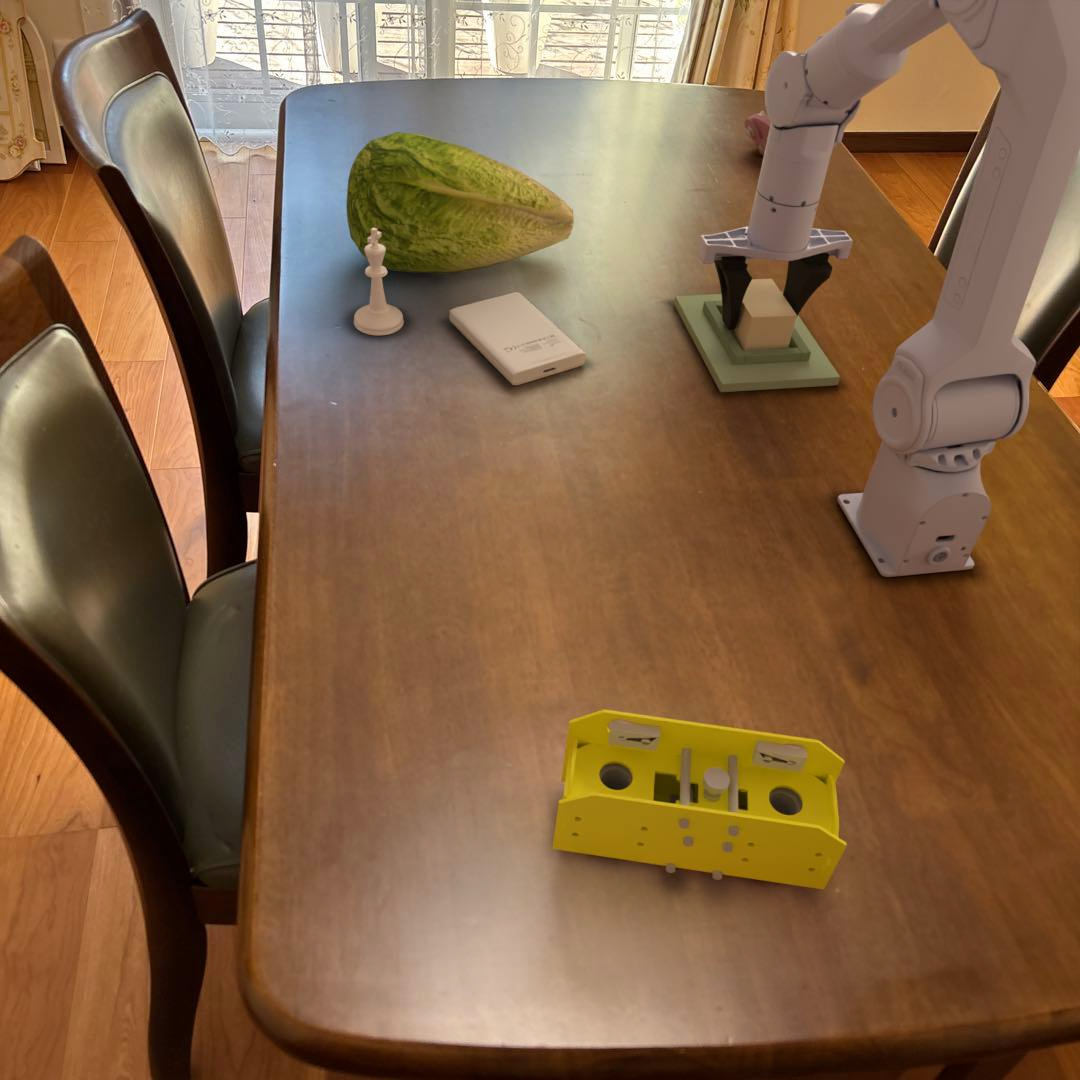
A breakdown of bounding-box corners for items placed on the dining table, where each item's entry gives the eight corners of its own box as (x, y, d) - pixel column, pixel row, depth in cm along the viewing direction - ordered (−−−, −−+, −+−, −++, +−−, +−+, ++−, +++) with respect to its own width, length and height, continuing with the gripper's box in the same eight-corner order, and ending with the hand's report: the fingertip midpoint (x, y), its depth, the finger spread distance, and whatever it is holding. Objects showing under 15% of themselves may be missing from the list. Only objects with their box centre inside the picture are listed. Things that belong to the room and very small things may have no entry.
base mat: (837, 385, 99) (843, 368, 98) (720, 392, 97) (724, 375, 95) (780, 299, 110) (784, 282, 109) (673, 304, 108) (676, 287, 107)
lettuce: (576, 306, 108) (602, 173, 102) (343, 280, 103) (353, 138, 96) (551, 264, 121) (572, 143, 114) (342, 239, 115) (351, 110, 108)
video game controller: (745, 156, 141) (735, 113, 136) (773, 138, 141) (764, 94, 135) (786, 186, 135) (777, 142, 129) (815, 167, 135) (808, 122, 129)
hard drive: (518, 304, 106) (584, 365, 99) (449, 323, 103) (512, 387, 95) (519, 290, 105) (586, 350, 98) (449, 308, 102) (512, 372, 94)
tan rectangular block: (787, 352, 101) (797, 315, 98) (743, 354, 100) (751, 317, 97) (763, 314, 106) (772, 278, 103) (721, 316, 105) (728, 280, 102)
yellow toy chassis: (814, 816, 64) (850, 737, 58) (820, 901, 60) (860, 825, 54) (561, 779, 65) (572, 698, 59) (550, 860, 61) (561, 781, 55)
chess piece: (343, 326, 101) (336, 232, 94) (372, 304, 104) (367, 211, 97) (385, 341, 100) (381, 246, 93) (413, 318, 103) (410, 225, 96)
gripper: (845, 172, 97) (809, 299, 106) (698, 175, 94) (676, 305, 103) (876, 206, 92) (836, 336, 101) (722, 210, 89) (696, 343, 99)
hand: (756, 323), depth 102 cm, fingers open, 5 cm apart
